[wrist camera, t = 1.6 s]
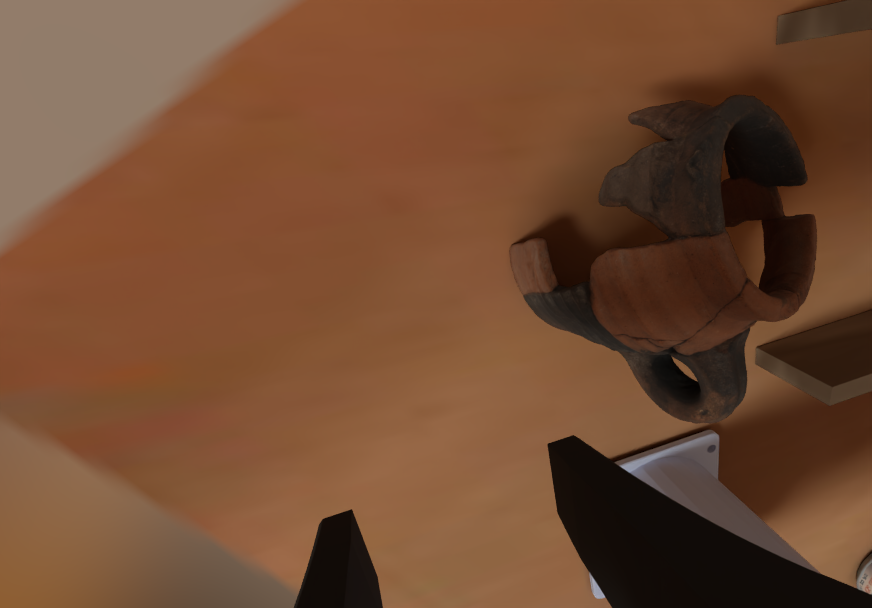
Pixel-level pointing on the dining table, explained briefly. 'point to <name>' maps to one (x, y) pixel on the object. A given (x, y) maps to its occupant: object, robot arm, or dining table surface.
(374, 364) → the dining table surface
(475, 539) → the dining table surface
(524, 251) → the brown hollow ring part
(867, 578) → the supplement bottle
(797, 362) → the box
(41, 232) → the dining table surface
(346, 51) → the dining table surface
